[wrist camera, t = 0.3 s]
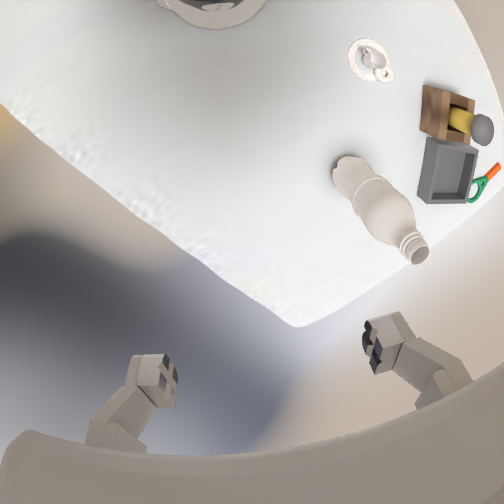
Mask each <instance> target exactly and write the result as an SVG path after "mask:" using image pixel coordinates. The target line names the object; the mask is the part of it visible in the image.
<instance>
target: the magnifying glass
mask: <svg viewBox="0 0 504 504" xmlns="http://www.w3.org/2000/svg"><path fill="white" fill-rule="evenodd" d="M500 169H501V165H500V164H499V163H497V164H496V165H495V166H494V167H493V168H492V169H491V170H490V171H489V172H488V173H487V174H486V175H485V176H483V177H480V178H476V179H473V180H472V184H474V183H477V184H478V191H477V194H476V195H475V196H474V197H473V198H471V199H469V198H468V199H467V202H468V203H473V202H475V201H476V200H477V199H478V198H479V197H480V195H481V193H482V191H483V190H484V188H485V186H486V184H487V183H488V181H489V180H490V179H491V178H492V177H493V176H494V175H495V174H496V173H497V172H498V171H499V170H500ZM482 181H483V182H482ZM481 182H482V184H481ZM472 184H471V185H472Z"/></svg>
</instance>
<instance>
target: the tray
mask: <svg viewBox="0 0 504 504" xmlns="http://www.w3.org/2000/svg"><path fill="white" fill-rule="evenodd" d="M478 152H479V150H477V149H476V148H474V147H472V146H470V145H468V144H465V143H459V142H453V141H447V140H441V139H435V138H427V139H426V146H425V153H424V160H423V166H422V171H421V177H420V182H419V187H418V192H417V196H418V197H420V198H421V199H422V200H423V201H424V202H425V203H426V204H455V203H466V202H467V199H468V195H469V192H470V188H471V184H472V180H473V176H474V171H475V167H476V162H477V157H478Z"/></svg>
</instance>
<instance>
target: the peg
mask: <svg viewBox="0 0 504 504" xmlns="http://www.w3.org/2000/svg"><path fill="white" fill-rule="evenodd" d="M448 125H449V126H451V127H454V128H456V129H458V130H460V131H462V132H464V133H466V134H468V135H470V136H472V139H473V140H474V141H475V142H476V143H478V144H480V145H482V146H487V145H488V144H489V143H490V142H491V141H492V138H493V135H494V126H493V122H492V120H491V119H490V118H489V117H487V116H484V115H482V114H477V115H474V114H471V113H469V112H466V111H464V110H461V109H459V108H456V107H453V106H451V105H450V106H449V117H448Z"/></svg>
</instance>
